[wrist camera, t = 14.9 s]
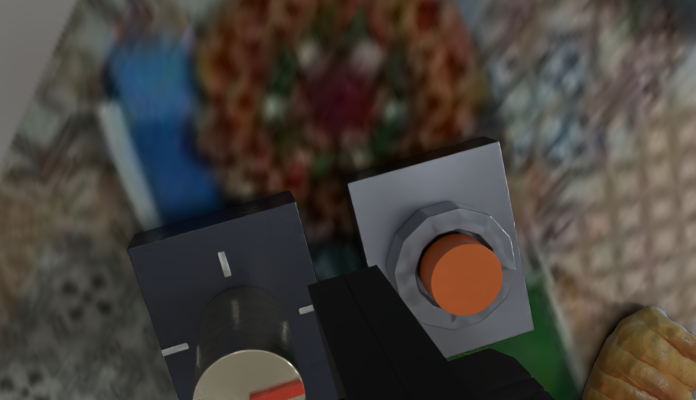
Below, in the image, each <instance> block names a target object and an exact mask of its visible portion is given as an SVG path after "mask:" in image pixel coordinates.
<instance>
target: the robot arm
mask: <svg viewBox="0 0 696 400" xmlns="http://www.w3.org/2000/svg"><path fill="white" fill-rule="evenodd" d="M307 287H308V291H309V294H310V298H311V302H312V305H313V309H314V312H315V316H316V320H317V323H318V327H319V330H320V334H321V338H322V341H323V345H324V349H325V352H326V356H327V359H328V363H329V367H330V370H331V374H332V377H333V381H334V385H335V388H336V392H337V395H338V400H555V399H554V398H553V397H552V396H551V395H550V394H549V393H548V392H545V391H544V388H543V387H542V386H541V385H540V384H539V383H538V382H537V381H536V380H535V379H534V378H532V377H531V374H530V373H529V372H528V371H527V370H526V369H525V368H524V367H523V366H522V365H521V364H520V363H519V362H518V361H517V360H516V359H515V358H513V357H511V356H508V355H506V354H503V353H501V352H498V351H496V350H493V349H491V348H489V349H486V350H483V351H479V352H476V353H473V354H470V355H467V356H464V357H461V358H458V359H455V360H452V361H447V360H446V358H445V357H444V355H443V354H442V353H441V351H440V350H439V349H438V347H437V346H436V345H435V343H434V342H433V341H432V339H431V338H430V336H429V335H428V334H427V332H426V331H425V330H424V328H423V327H422V326H421V324H420V323H419V321H418V320H417V319H416V317H415V316H414V315H413V313H412V312H411V311H410V309H409V308H408V307H407V305H406V304H405V302H404V301H403V300H402V298H401V297H400V296H399V294H398V293H397V292H396V290H395V289H394V287H393V286H392V285H391V283H390V282H389V281H388V279H387V278H386V277H385V275H384V274H383V273H382V271H381V270H380V268H379V267H378V266H377V265H374V266H371V267H367V268H364V269H361V270H357V271H354V272H351V273H347V274H344V275H340V276H337V277H334V278H330V279H327V280H324V281H320V282H317V283H314V284H310V285H307Z"/></svg>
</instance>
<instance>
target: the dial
mask: <svg viewBox="0 0 696 400" xmlns="http://www.w3.org/2000/svg"><path fill="white" fill-rule="evenodd" d="M305 399H306V395H305V387H304V383H303V379H302V375H301V371H300V367H299V362H298V358H297V354H296V350H295V346H294V342H293V338H292V334H291V330H290V326H289V321H288V317H287V314H286V311H285V309H284V307H283V305H282V304H281V303H280V301H279V300H278V299H277V298H276V297H275V296H273V295H272V294H271V293H269V292H267V291H265V290H263V289H260V288H256V287H250V286H241V287H235V288H231V289H228V290H226V291H224V292H222V293H220V294H219V295H217V296H216V297H215V298H214V299H212V300H211V301H210V303H209V304H208V305H207V306H206V308H205V309H204V311H203V313H202V316H201V319H200V324H199V333H198V344H197V354H196V365H195V376H194V387H193V398H192V400H305Z"/></svg>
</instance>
